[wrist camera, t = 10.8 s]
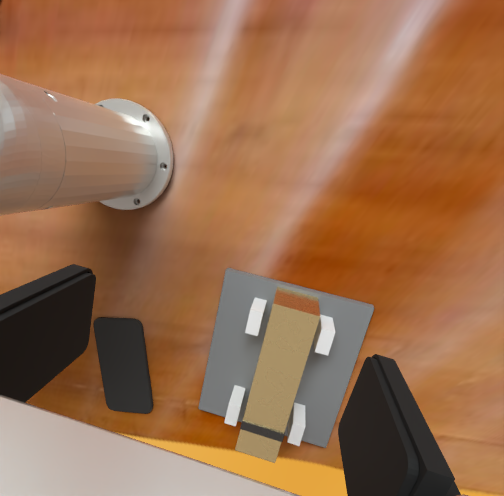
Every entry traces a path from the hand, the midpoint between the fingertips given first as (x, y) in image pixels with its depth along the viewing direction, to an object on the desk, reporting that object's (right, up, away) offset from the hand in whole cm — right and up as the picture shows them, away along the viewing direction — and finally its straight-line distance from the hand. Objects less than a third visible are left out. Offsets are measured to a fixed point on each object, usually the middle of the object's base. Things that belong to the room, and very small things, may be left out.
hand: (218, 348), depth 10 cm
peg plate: (+5, -11, +31) cm, 33 cm away
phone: (-17, -14, +35) cm, 42 cm away
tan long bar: (+4, -11, +30) cm, 32 cm away
